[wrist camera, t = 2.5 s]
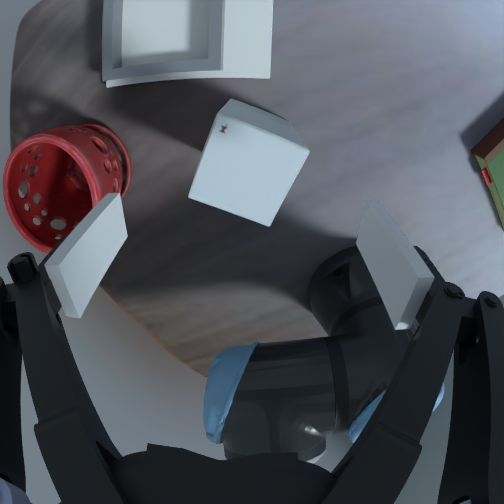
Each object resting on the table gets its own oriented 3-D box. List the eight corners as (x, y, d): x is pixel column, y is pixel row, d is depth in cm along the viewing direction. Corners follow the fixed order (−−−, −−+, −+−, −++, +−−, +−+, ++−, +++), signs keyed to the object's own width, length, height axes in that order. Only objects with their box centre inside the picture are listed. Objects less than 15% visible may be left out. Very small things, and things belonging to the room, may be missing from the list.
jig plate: (269, 78, 29) (271, 79, 25) (112, 86, 28) (96, 89, 25) (273, -33, 21) (275, -45, 18) (114, -18, 21) (99, -25, 17)
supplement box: (206, 154, 34) (183, 197, 23) (230, 96, 30) (216, 109, 19) (265, 177, 35) (269, 230, 25) (292, 122, 31) (312, 149, 21)
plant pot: (157, 189, 36) (122, 240, 26) (81, 219, 38) (37, 269, 28) (118, 94, 29) (62, 110, 19) (43, 139, 31) (-16, 171, 21)
